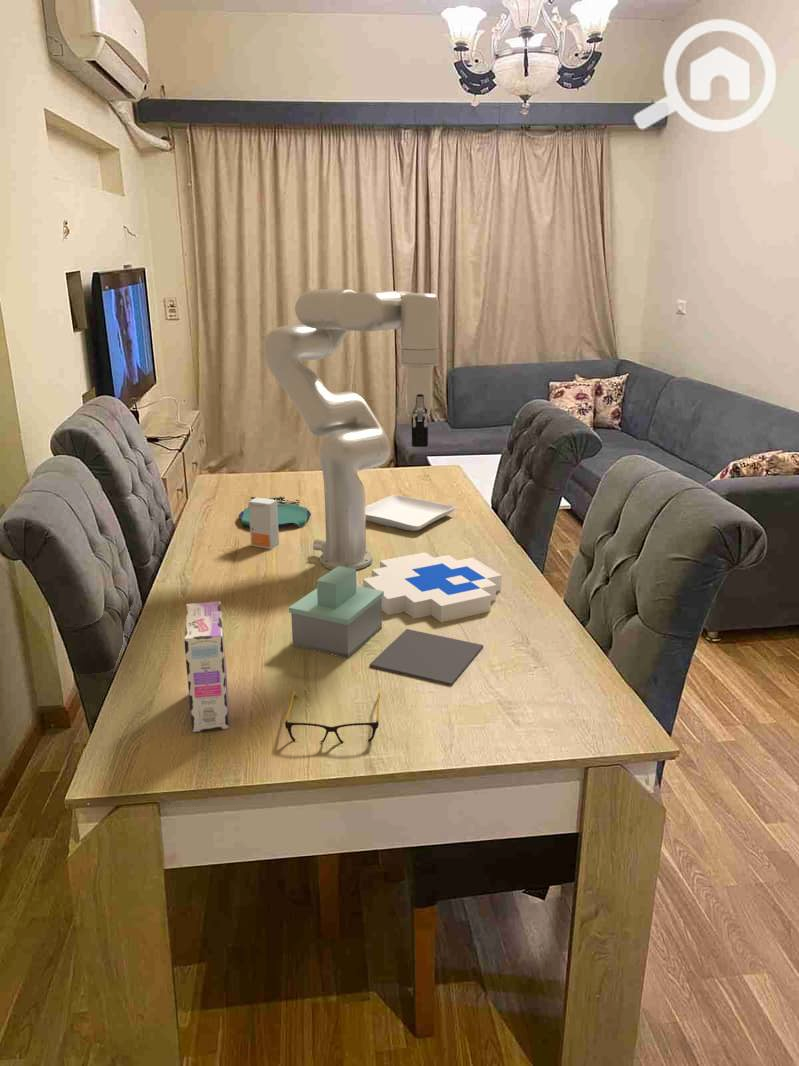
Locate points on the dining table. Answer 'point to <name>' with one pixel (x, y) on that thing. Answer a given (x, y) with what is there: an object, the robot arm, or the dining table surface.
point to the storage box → (336, 632)
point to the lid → (337, 598)
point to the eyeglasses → (328, 729)
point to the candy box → (206, 666)
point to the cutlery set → (283, 514)
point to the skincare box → (264, 522)
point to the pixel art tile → (435, 586)
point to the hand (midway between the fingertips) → (419, 441)
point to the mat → (427, 656)
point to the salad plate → (406, 512)
